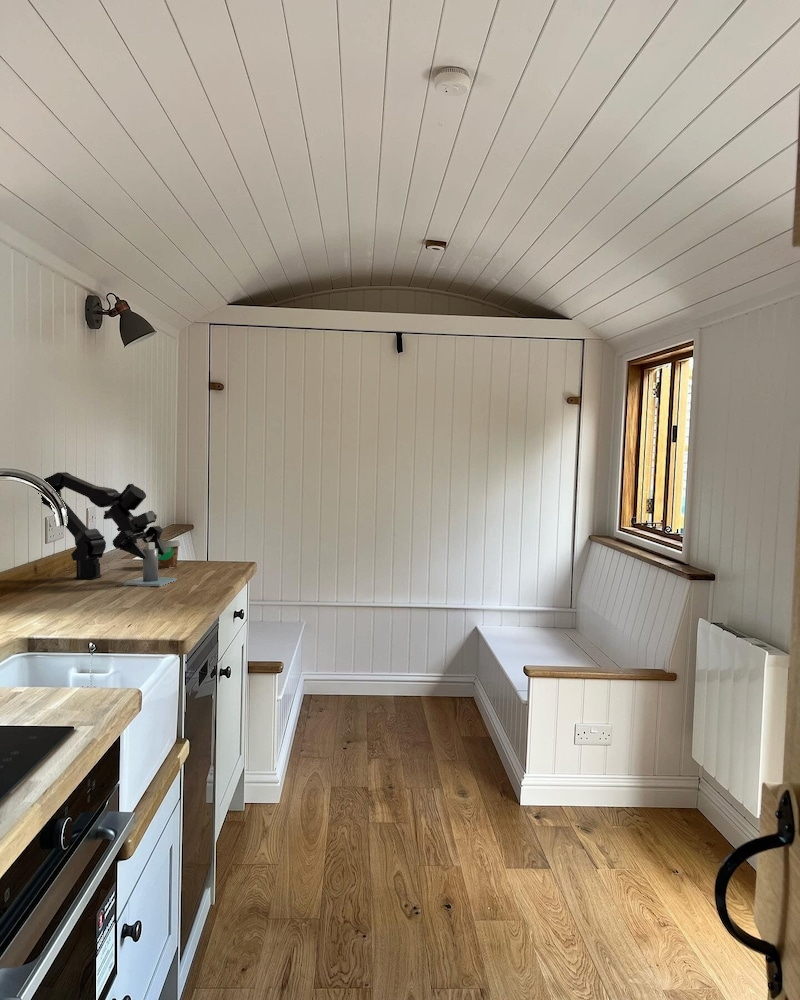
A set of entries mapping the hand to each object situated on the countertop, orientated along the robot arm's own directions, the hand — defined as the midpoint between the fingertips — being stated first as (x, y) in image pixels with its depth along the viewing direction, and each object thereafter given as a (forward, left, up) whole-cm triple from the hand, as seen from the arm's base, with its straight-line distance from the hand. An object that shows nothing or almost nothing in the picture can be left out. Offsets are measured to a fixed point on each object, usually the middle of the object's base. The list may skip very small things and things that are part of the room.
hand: (154, 556), depth 245 cm
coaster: (-1, 0, -9) cm, 9 cm away
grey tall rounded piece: (-1, 0, -8) cm, 8 cm away
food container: (-12, +29, -9) cm, 33 cm away
